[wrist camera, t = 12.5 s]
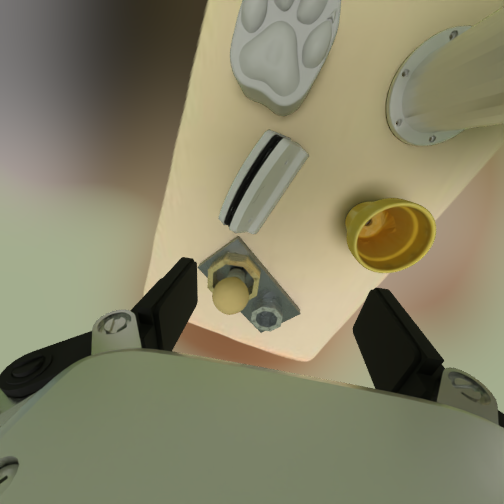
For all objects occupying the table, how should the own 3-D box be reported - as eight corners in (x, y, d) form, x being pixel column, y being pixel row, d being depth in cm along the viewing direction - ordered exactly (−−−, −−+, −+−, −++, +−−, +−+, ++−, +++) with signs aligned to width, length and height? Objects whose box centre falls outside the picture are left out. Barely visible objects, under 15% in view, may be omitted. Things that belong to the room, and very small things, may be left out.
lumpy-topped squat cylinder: (231, 89, 30) (216, 66, 22) (273, -35, 24) (272, -123, 17) (293, 123, 31) (299, 114, 23) (347, 13, 25) (378, -49, 18)
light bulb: (235, 291, 44) (224, 327, 35) (216, 270, 42) (200, 302, 33) (258, 278, 42) (254, 312, 33) (240, 255, 40) (229, 285, 31)
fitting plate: (238, 236, 40) (234, 245, 36) (299, 309, 46) (301, 324, 42) (200, 263, 44) (192, 275, 40) (261, 328, 50) (260, 343, 46)
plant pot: (411, 206, 34) (457, 224, 26) (370, 255, 39) (398, 284, 30) (359, 178, 33) (388, 188, 25) (323, 232, 38) (337, 255, 29)
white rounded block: (255, 234, 39) (231, 245, 31) (237, 220, 40) (208, 226, 31) (310, 153, 32) (299, 135, 23) (287, 137, 33) (267, 115, 24)
